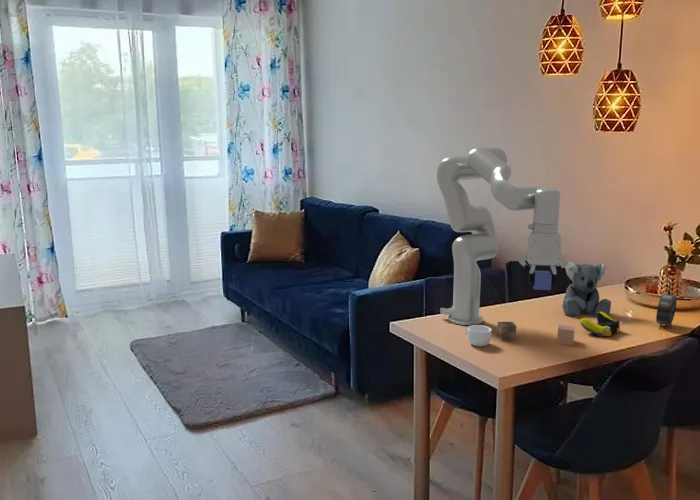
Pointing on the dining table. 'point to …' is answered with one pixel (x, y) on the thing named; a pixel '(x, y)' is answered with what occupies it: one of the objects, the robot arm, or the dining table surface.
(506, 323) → the walnut block
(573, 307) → the koala plush
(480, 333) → the teacup
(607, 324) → the yellow black angled piece
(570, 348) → the dining table surface
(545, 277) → the blue cube
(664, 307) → the alarm clock
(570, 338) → the beige cube
